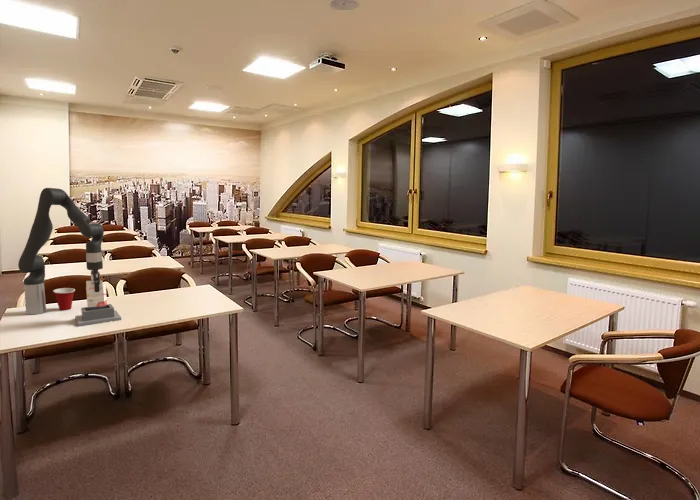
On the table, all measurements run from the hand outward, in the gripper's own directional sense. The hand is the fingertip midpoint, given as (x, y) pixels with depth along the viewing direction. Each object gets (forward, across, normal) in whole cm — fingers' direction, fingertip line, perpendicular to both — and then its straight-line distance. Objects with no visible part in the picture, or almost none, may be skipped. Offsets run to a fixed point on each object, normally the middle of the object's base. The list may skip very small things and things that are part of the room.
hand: (96, 290), depth 229 cm
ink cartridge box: (+9, 0, 0) cm, 9 cm away
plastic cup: (+17, -33, -13) cm, 39 cm away
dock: (+16, 0, 0) cm, 16 cm away
